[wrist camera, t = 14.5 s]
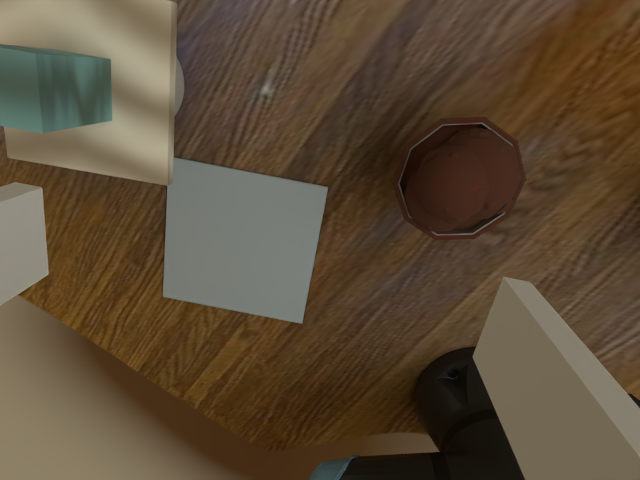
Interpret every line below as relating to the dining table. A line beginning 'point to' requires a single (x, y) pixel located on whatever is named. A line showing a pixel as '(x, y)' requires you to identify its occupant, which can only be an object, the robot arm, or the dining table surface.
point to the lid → (90, 85)
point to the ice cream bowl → (459, 178)
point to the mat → (241, 239)
